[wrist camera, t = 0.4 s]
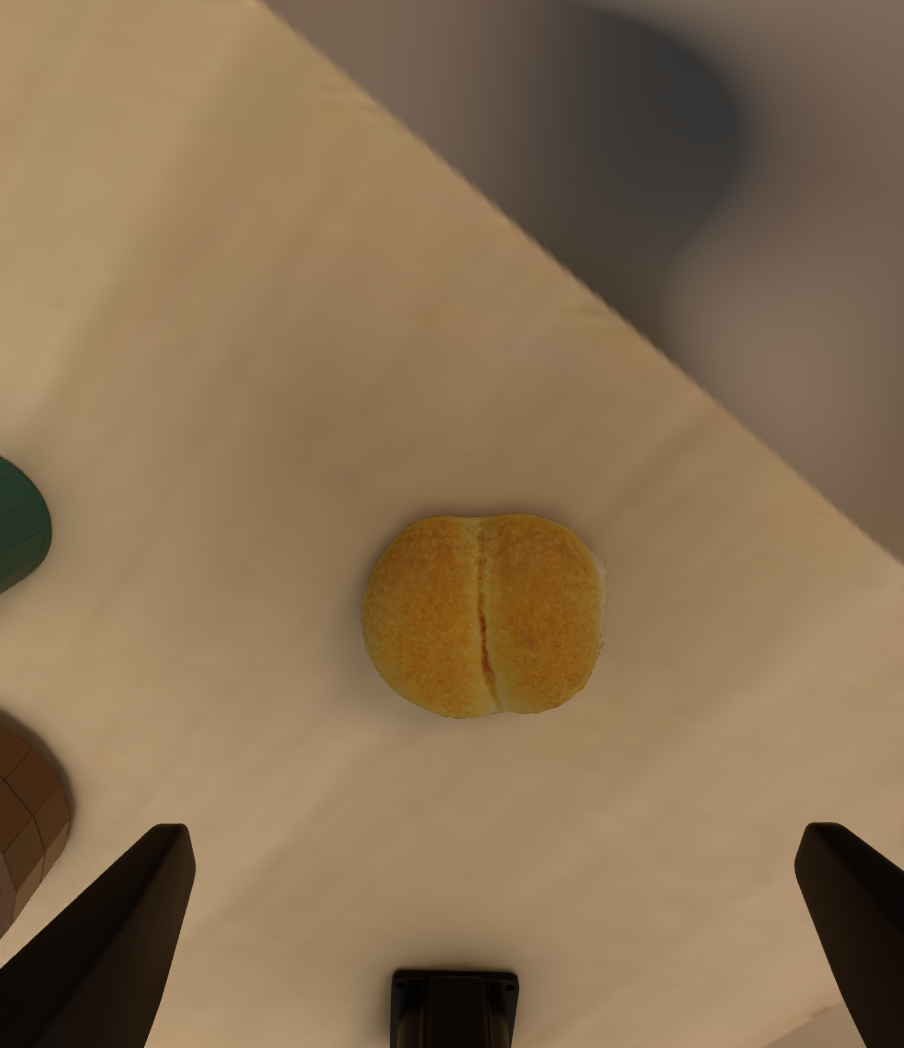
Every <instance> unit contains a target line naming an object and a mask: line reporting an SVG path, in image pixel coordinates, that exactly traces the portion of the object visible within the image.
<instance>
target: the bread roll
mask: <svg viewBox="0 0 904 1048" xmlns="http://www.w3.org/2000/svg"><path fill="white" fill-rule="evenodd" d="M606 596H607V590H606V570H605V566H604V564H603V562H602V560H601V559H600V558H599V557H598V556H597V555H596V554H594V553H593V552H592V551H591V550H590V549H589V548H588V547H587V546H586V545H585V543H584V542H583V541H582V540H581V539H580V538H579V537H578V536H577V535H576V534H575V533H574V532H572V531H571V530H570V529H568V528H567V527H565V526H563V525H561V524H559V523H557V522H554V521H551V520H547V519H544V518H540V517H537V516H533V515H527V514H517V513H515V514H506V515H496V516H490V517H474V518H463V517H458V516H438V517H430V518H426V519H422V520H419V521H417V522H415V523H413V524H411V525H410V526H409V527H407V528H406V529H405V530H404V531H403V532H402V533H401V534H400V535H399V536H398V537H397V538H396V539H395V540H394V541H393V542H392V543H391V544H390V545H389V547H388V548H387V549H386V551H385V552H384V554H383V555H382V556H381V558H380V559H379V560H378V562H377V563H376V565H375V567H374V569H373V571H372V573H371V576H370V579H369V581H368V583H367V586H366V589H365V592H364V595H363V599H362V606H361V622H362V628H363V635H364V642H365V646H366V649H367V652H368V654H369V656H370V659H371V660H372V662H373V664H374V666H375V667H376V669H377V671H378V672H379V674H380V675H381V677H382V678H383V679H384V680H385V681H386V683H387V684H388V685H389V686H390V687H391V688H392V689H393V690H394V691H396V692H397V693H398V694H399V695H401V696H402V697H404V698H405V699H407V700H408V701H410V702H412V703H414V704H416V705H417V706H419V707H421V708H423V709H426V710H428V711H430V712H432V713H435V714H438V715H441V716H444V717H450V718H457V719H465V718H474V717H481V716H485V715H489V714H495V713H500V712H514V713H520V714H530V713H534V714H538V713H540V712H543V711H546V710H549V709H552V708H556V707H558V706H560V705H562V704H563V703H565V702H566V701H568V700H569V699H571V698H572V697H573V696H574V695H575V694H576V693H578V692H579V691H581V690H582V689H583V688H584V686H585V684H586V683H587V680H588V679H589V677H590V675H591V673H592V670H593V668H594V665H595V663H596V660H597V659H598V658H597V657H598V656H599V655H600V650H601V646H603V644H604V641H603V631H604V621H605V606H606Z"/></svg>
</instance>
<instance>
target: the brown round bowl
mask: <svg viewBox="0 0 904 1048" xmlns="http://www.w3.org/2000/svg"><path fill="white" fill-rule="evenodd" d="M69 821H70V814H69V810H68V807H67V804H66V800H65V797H64V793H63V790H62V787H61V783H60V781H59V780H58V778H57V777H56V776H55V774H54V773H53V772H52V771H51V769H50V768H49V767H48V765H47V764H46V763H45V761H44V760H43V759H42V757H41V756H40V755H39V754H38V752H37V751H36V750H35V748H33V747H32V746H31V745H29V744H28V743H27V742H25V741H24V740H22V739H21V738H20V737H18V736H17V735H16V734H14V733H13V732H11V731H10V730H9V729H7V728H6V727H5V726H3V725H2V724H0V939H1V938H2V937H3V936H4V935H5V933H6V932H7V931H8V930H9V928H10V927H11V926H12V924H13V923H14V922H15V920H16V919H17V917H18V916H19V914H20V913H21V911H22V910H23V908H24V907H25V906H26V904H27V903H28V901H29V900H30V898H31V897H32V895H33V894H34V892H35V891H36V890H37V888H38V886H39V885H40V884H41V882H42V881H43V879H44V878H45V877H46V875H47V874H48V872H49V871H50V869H51V868H52V866H53V865H54V863H55V862H56V861H57V859H58V858H59V856H60V855H61V853H62V852H63V850H64V848H65V843H66V837H67V832H68V826H69Z"/></svg>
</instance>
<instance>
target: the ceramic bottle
mask: <svg viewBox="0 0 904 1048" xmlns="http://www.w3.org/2000/svg"><path fill="white" fill-rule="evenodd" d="M50 541H51V522H50V517H49V513H48V510H47V508H46V505H45V503H44V501H43V499H42V497H41V495H40V493H39V492H38V490H37V489H36V488H35V486H34V485H33V484H32V482H31V481H30V480H29V479H28V478H27V477H26V476H25V475H24V474H23V473H22V472H21V471H20V470H18V469H17V468H16V467H15V466H13V465H12V464H11V463H9V462H8V461H6V460H4V459H3V458H1V457H0V594H2V593H3V592H5V591H6V590H8V589H9V588H11V587H12V586H14V585H15V584H17V583H18V582H20V581H21V580H23V579H24V578H26V576H28V574H30V573H31V572H33V571H34V570H35V569H36V568H37V567H38V566H39V565H40V564H41V562H42V561H43V560H44V558H45V556H46V554H47V552H48V549H49V546H50Z"/></svg>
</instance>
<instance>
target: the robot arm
mask: <svg viewBox="0 0 904 1048" xmlns="http://www.w3.org/2000/svg"><path fill="white" fill-rule="evenodd" d="M794 868H795V874H796V878H797V881H798V884H799V887H800V889H801V892H802V894H803V897H804V900H805V902H806V905H807V907H808V910H809V913H810V915H811V918H812V920H813V923H814V926H815V928H816V931H817V933H818V936H819V939H820V941H821V944H822V946H823V949H824V952H825V954H826V957H827V959H828V962H829V965H830V967H831V970H832V972H833V975H834V978H835V980H836V982H837V985H838V987H839V990H840V992H841V995H842V997H843V999H844V1001H845V1003H846V1005H847V1008H848V1010H849V1012H850V1014H851V1016H852V1019H853V1020H854V1023H855V1025H856V1027H857V1029H858V1031H859V1033H860V1035H861V1037H862V1039H863V1041H864V1043H865V1045H866V1047H867V1048H904V871H903V870H902V869H900V868H899V867H898V866H896V865H895V864H894V863H892V862H891V861H890V860H888V859H887V858H886V857H884V856H883V855H882V854H880V853H879V852H878V851H876V850H875V849H874V848H872V847H871V846H870V845H868V844H867V843H866V842H864V841H863V840H862V839H860V838H859V837H858V836H856V835H855V834H854V833H852V832H851V831H850V830H848V829H847V828H846V827H844V826H842V825H840V824H838V823H833V822H813V823H810V824H809V825H808V826H806V828H805V831H804V834H803V837H802V840H801V843H800V846H799V849H798V852H797V854H796V857H795V863H794ZM195 871H196V863H195V858H194V853H193V849H192V844H191V839H190V835H189V831H188V828H187V827H186V825H184V824H158V825H155V826H154V827H152V828H151V829H150V830H149V831H148V832H147V833H145V834H144V835H143V836H142V837H141V838H140V839H139V840H138V841H137V842H136V843H135V844H134V845H133V846H132V847H130V848H129V849H128V850H127V851H126V852H125V853H124V854H123V855H122V856H121V857H120V858H119V859H118V860H116V861H115V862H114V863H113V864H112V865H111V866H110V867H109V868H108V869H107V870H106V871H105V872H104V873H103V874H101V875H100V876H99V877H98V878H97V879H96V880H95V881H94V882H93V883H92V884H91V885H90V886H89V887H88V888H86V889H85V890H84V891H83V892H82V893H81V894H80V895H79V896H78V897H77V898H76V899H75V900H74V901H73V902H71V903H70V904H69V905H68V906H67V907H66V908H65V909H64V910H63V911H62V912H61V913H60V914H59V915H58V916H56V917H55V918H54V919H53V920H52V921H51V922H50V923H49V924H48V925H47V926H46V927H45V928H44V929H43V930H41V931H40V932H39V933H38V934H37V935H36V936H35V937H34V938H33V939H32V940H31V941H30V942H29V943H27V944H26V945H25V946H24V947H23V948H22V949H21V950H20V951H19V952H18V953H17V954H16V955H15V956H14V957H12V958H11V959H10V960H9V961H8V962H7V963H6V964H5V965H4V966H3V967H2V968H1V969H0V1048H144V1046H145V1043H146V1041H147V1038H148V1035H149V1033H150V1030H151V1027H152V1025H153V1022H154V1019H155V1016H156V1013H157V1010H158V1008H159V1005H160V1002H161V998H162V995H163V992H164V988H165V985H166V981H167V978H168V974H169V970H170V967H171V963H172V960H173V956H174V952H175V949H176V945H177V941H178V938H179V934H180V930H181V927H182V923H183V919H184V916H185V912H186V908H187V905H188V901H189V897H190V894H191V890H192V886H193V883H194V878H195ZM518 994H519V981H518V977H517V975H515V974H513V973H488V972H439V971H398V972H395V973H394V974H393V976H392V990H391V1023H390V1048H511V1044H512V1037H513V1029H514V1022H515V1015H516V1008H517V1001H518Z"/></svg>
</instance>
